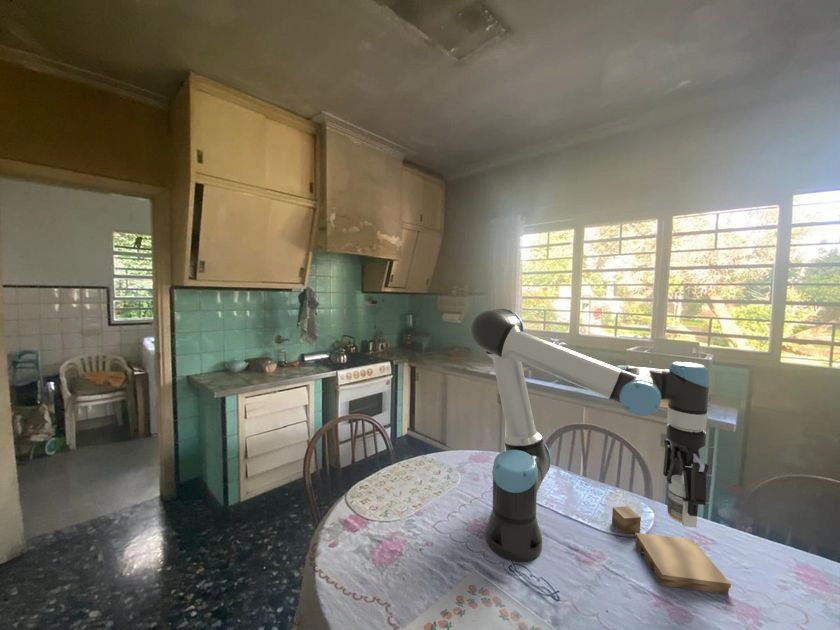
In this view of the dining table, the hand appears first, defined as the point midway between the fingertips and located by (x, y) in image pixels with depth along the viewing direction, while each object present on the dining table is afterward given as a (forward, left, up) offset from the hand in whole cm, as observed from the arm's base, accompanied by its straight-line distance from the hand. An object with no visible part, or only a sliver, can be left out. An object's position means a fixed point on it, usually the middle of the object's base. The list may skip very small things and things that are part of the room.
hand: (681, 516), depth 84 cm
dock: (0, 0, -13) cm, 13 cm away
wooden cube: (-7, +13, -13) cm, 20 cm away
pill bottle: (0, 0, 0) cm, 0 cm away
